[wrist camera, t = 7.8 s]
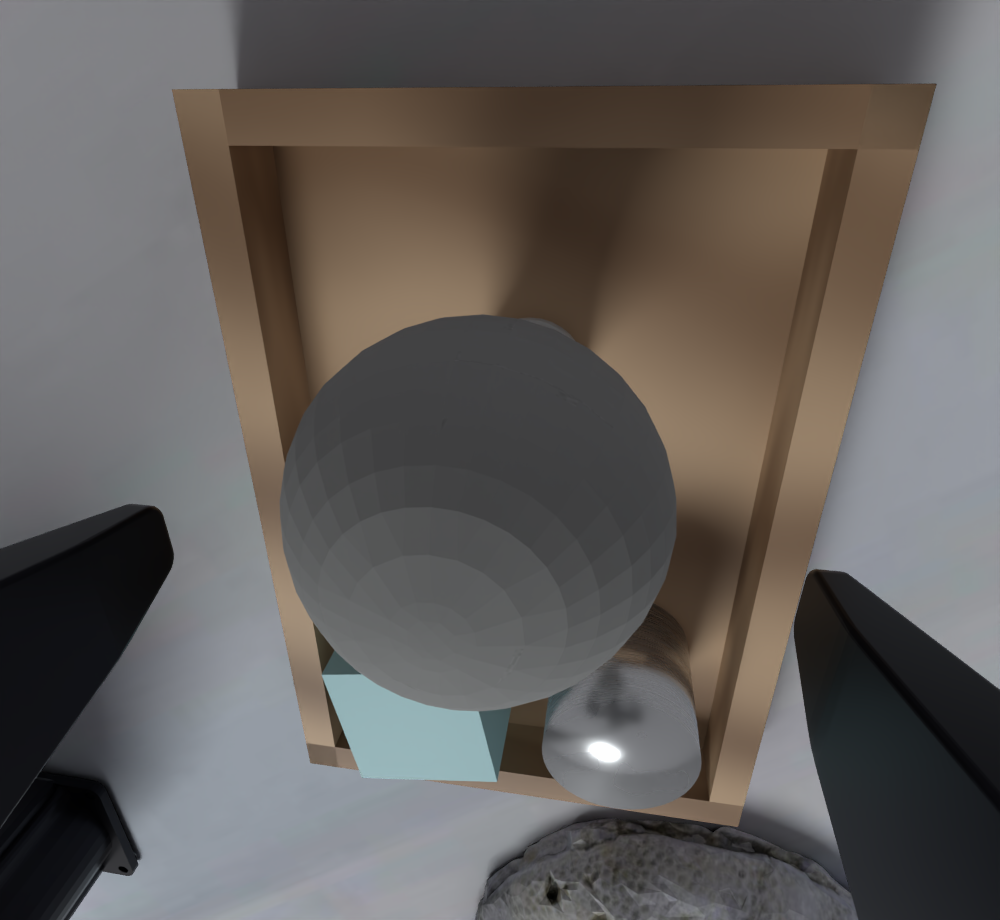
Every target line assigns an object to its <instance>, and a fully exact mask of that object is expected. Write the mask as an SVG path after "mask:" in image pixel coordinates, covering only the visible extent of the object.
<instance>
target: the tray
mask: <svg viewBox="0 0 1000 920" xmlns="http://www.w3.org/2000/svg"><path fill="white" fill-rule="evenodd" d="M935 88H936V84H825V85H695V86H566V87H436V88H307V89H177V90H172V92H173V97H174V102H175V107H176V112H177V116H178V121H179V126H180V131H181V136H182V141H183V146H184V151H185V155H186V160H187V165H188V170H189V175H190V180H191V185H192V189H193V194H194V199H195V204H196V209H197V214H198V219H199V223H200V228H201V233H202V238H203V243H204V248H205V253H206V257H207V262H208V267H209V272H210V277H211V282H212V287H213V292H214V296H215V301H216V306H217V311H218V316H219V321H220V326H221V330H222V335H223V340H224V345H225V350H226V355H227V360H228V364H229V369H230V374H231V379H232V384H233V389H234V394H235V398H236V403H237V408H238V413H239V418H240V423H241V428H242V432H243V437H244V442H245V447H246V452H247V457H248V462H249V467H250V471H251V476H252V481H253V486H254V491H255V496H256V501H257V505H258V510H259V515H260V520H261V525H262V530H263V535H264V539H265V544H266V549H267V554H268V559H269V564H270V569H271V573H272V578H273V583H274V588H275V593H276V598H277V603H278V607H279V612H280V617H281V622H282V627H283V632H284V637H285V642H286V646H287V651H288V656H289V661H290V666H291V671H292V676H293V680H294V685H295V690H296V695H297V700H298V705H299V710H300V714H301V719H302V724H303V729H304V734H305V739H306V744H307V748H308V753H309V758H310V763H314V764H320V765H327V766H334V767H340V768H347V769H354V770H359V769H358V766H357V764H356V761H355V759H354V756H353V753H352V751H351V748H350V746H349V743H348V741H347V738H346V736H345V733H344V731H343V728H342V726H341V723H340V721H339V718H338V715H337V713H336V710H335V708H334V705H333V703H332V700H331V698H330V695H329V693H328V690H327V688H326V685H325V683H324V680H323V677H322V673H323V671H324V669H325V667H326V665H327V663H328V662H329V660H330V658H331V656H332V654H333V652H334V649H333V648H332V646H331V645H330V644H329V642H328V641H327V640H326V639H325V637H324V636H323V635H322V634H321V632H320V631H319V630H318V628H317V627H316V625H315V624H314V623H313V621H312V620H311V618H310V617H309V615H308V613H307V611H306V609H305V608H304V606H303V604H302V602H301V600H300V598H299V597H298V595H297V593H296V590H295V587H294V584H293V581H292V577H291V574H290V571H289V568H288V565H287V561H286V557H285V554H284V550H283V542H282V532H281V521H280V495H281V487H282V480H283V472H284V467H285V462H286V457H287V454H288V451H289V449H290V446H291V443H292V441H293V438H294V436H295V433H296V431H297V428H298V425H299V423H300V421H301V419H302V417H303V414H304V412H305V411H306V409H307V408H308V407H309V405H310V404H311V402H312V401H313V399H314V398H315V397H316V395H317V394H318V392H319V391H320V389H321V388H322V387H323V385H324V384H325V383H326V382H327V381H329V380H330V379H331V378H332V377H333V376H334V375H335V374H336V373H337V372H339V371H340V370H341V369H342V368H343V367H344V366H345V365H346V364H348V363H349V362H350V361H351V360H352V359H353V358H354V357H356V356H357V355H358V354H359V353H360V352H361V351H362V350H364V349H366V348H368V347H370V346H372V345H373V344H375V343H377V342H379V341H381V340H383V339H384V338H386V337H388V336H390V335H392V334H394V333H396V332H398V331H400V330H402V329H404V328H407V327H410V326H414V325H417V324H421V323H424V322H428V321H431V320H435V319H438V318H443V317H455V316H468V315H481V314H484V315H493V316H501V317H509V318H517V319H519V318H530V317H531V318H539V319H544V320H547V321H550V322H553V323H555V324H557V325H558V326H560V327H562V328H563V329H564V330H566V331H567V332H568V333H569V334H570V335H571V336H572V337H573V339H574V340H575V341H576V342H578V343H580V344H582V345H583V346H585V347H587V348H589V349H590V350H592V351H593V352H594V353H595V354H596V355H597V356H599V357H600V358H601V359H602V360H603V361H605V362H606V363H607V364H608V365H609V366H610V367H612V368H613V369H614V370H615V371H616V372H618V373H619V374H620V375H621V377H622V378H623V379H624V380H625V381H626V383H627V384H628V385H629V387H630V388H631V389H632V390H633V392H634V393H635V394H636V395H637V397H638V398H639V399H640V401H641V402H642V403H643V404H644V406H645V407H646V409H647V411H648V413H649V415H650V417H651V419H652V421H653V423H654V425H655V427H656V429H657V432H658V434H659V436H660V438H661V440H662V442H663V444H664V446H665V449H666V452H667V456H668V460H669V465H670V469H671V473H672V477H673V481H674V486H675V493H676V539H675V543H674V547H673V551H672V555H671V559H670V564H669V568H668V571H667V575H666V578H665V581H664V583H663V585H662V587H661V589H660V591H659V593H658V595H657V597H656V599H655V600H654V602H653V603H654V604H656V605H657V606H659V607H661V608H663V609H664V610H666V611H667V612H668V613H670V614H671V615H672V616H673V617H674V618H675V619H676V620H677V621H678V623H679V624H680V625H681V627H682V628H683V630H684V633H685V635H686V638H687V642H688V650H689V659H690V667H691V676H692V684H693V693H694V701H695V710H696V718H697V727H698V735H699V744H700V752H701V770H700V773H699V777H698V778H697V780H696V782H695V783H694V785H693V786H692V787H691V788H690V789H689V790H688V791H687V792H686V793H685V794H684V795H682V796H681V797H679V798H678V799H676V800H674V801H672V802H669V803H667V804H664V805H661V806H657V807H653V808H646V809H635V810H631V809H621V810H628V811H635V812H641V813H648V814H655V815H661V816H668V817H675V818H681V819H688V820H695V821H701V822H708V823H715V824H721V825H728V826H735V827H738V825H739V821H740V818H741V814H742V810H743V806H744V803H745V799H746V795H747V791H748V788H749V784H750V780H751V776H752V773H753V769H754V765H755V761H756V758H757V754H758V750H759V747H760V743H761V739H762V735H763V732H764V728H765V724H766V720H767V717H768V713H769V709H770V705H771V702H772V698H773V694H774V690H775V687H776V683H777V679H778V675H779V672H780V668H781V664H782V660H783V657H784V653H785V649H786V645H787V642H788V638H789V634H790V630H791V627H792V623H793V619H794V615H795V612H796V608H797V604H798V601H799V597H800V593H801V589H802V586H803V582H804V578H805V574H806V571H807V567H808V563H809V559H810V556H811V552H812V548H813V544H814V541H815V537H816V533H817V529H818V526H819V522H820V518H821V514H822V511H823V507H824V503H825V499H826V496H827V492H828V488H829V484H830V481H831V477H832V473H833V469H834V466H835V462H836V458H837V454H838V451H839V447H840V443H841V440H842V436H843V432H844V428H845V425H846V421H847V417H848V413H849V410H850V406H851V402H852V398H853V395H854V391H855V387H856V383H857V380H858V376H859V372H860V368H861V365H862V361H863V357H864V353H865V350H866V346H867V342H868V338H869V335H870V331H871V327H872V323H873V320H874V316H875V312H876V308H877V305H878V301H879V297H880V294H881V290H882V286H883V282H884V279H885V275H886V271H887V267H888V264H889V260H890V256H891V252H892V249H893V245H894V241H895V237H896V234H897V230H898V226H899V222H900V219H901V215H902V211H903V207H904V204H905V200H906V196H907V192H908V189H909V185H910V181H911V177H912V174H913V170H914V166H915V162H916V159H917V155H918V151H919V147H920V144H921V140H922V136H923V133H924V129H925V125H926V121H927V118H928V114H929V110H930V106H931V103H932V99H933V95H934V91H935ZM547 704H548V698H544V699H540V700H537V701H533V702H529V703H526V704H522V705H518V706H515V707H511V712H510V717H509V722H508V728H507V733H506V738H505V743H504V749H503V754H502V759H501V765H500V770H499V775H498V780H497V782H481V781H448V780H427V781H434V782H441V783H447V784H454V785H461V786H467V787H474V788H481V789H488V790H494V791H501V792H508V793H514V794H521V795H528V796H534V797H541V798H548V799H554V800H561V801H568V802H574V803H581V804H588V805H594V806H601V805H597V804H594V803H591V802H589V801H586V800H584V799H582V798H580V797H577V796H576V795H574V794H572V793H571V792H569V791H568V790H566V789H565V788H564V787H562V786H561V785H560V784H559V783H558V782H557V781H556V780H555V779H554V778H553V776H552V775H551V774H550V772H549V771H548V769H547V767H546V765H545V763H544V760H543V755H542V742H543V735H544V727H545V719H546V712H547ZM601 807H605V806H601ZM608 808H610V807H608ZM614 809H616V808H614Z"/></svg>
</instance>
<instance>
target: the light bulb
mask: <svg viewBox="0 0 1000 920" xmlns="http://www.w3.org/2000/svg"><path fill="white" fill-rule="evenodd" d="M280 521H281V532H282V542H283V550H284V554H285V557H286V561H287V565H288V568H289V571H290V574H291V577H292V581H293V584H294V587H295V590H296V593H297V595H298V597H299V598H300V600H301V602H302V604H303V606H304V608H305V609H306V611H307V613H308V615H309V617H310V618H311V620H312V621H313V623H314V624H315V625H316V627H317V628H318V630H319V631H320V632H321V634H322V635H323V636H324V637H325V639H326V640H327V641H328V642H329V644H330V645H331V646H332V648H333V649H334V650H335V651H336V652H337V653H338V654H339V655H340V656H341V657H342V658H343V659H344V660H345V661H346V662H347V663H348V664H350V665H351V666H352V667H353V668H354V669H355V670H356V671H358V672H359V673H361V674H362V675H364V676H365V677H367V678H368V679H370V680H371V681H373V682H374V683H375V684H377V685H379V686H381V687H383V688H385V689H387V690H389V691H391V692H393V693H395V694H397V695H399V696H401V697H404V698H407V699H410V700H413V701H416V702H419V703H422V704H425V705H428V706H434V707H439V708H444V709H449V710H458V711H490V710H499V709H507V708H511V707H515V706H518V705H522V704H526V703H529V702H533V701H537V700H540V699H544V698H548V697H550V696H552V695H554V694H557V693H559V692H561V691H563V690H565V689H567V688H569V687H571V686H573V685H575V684H577V683H578V682H580V681H581V680H582V679H584V678H585V677H587V676H588V675H590V674H591V673H592V672H594V671H595V670H596V669H598V668H599V667H600V666H602V665H603V664H604V663H606V662H607V661H608V660H610V659H611V658H612V657H613V656H614V655H615V654H616V653H617V651H618V650H619V649H620V648H621V647H622V646H623V645H624V644H625V642H626V641H627V640H628V639H629V638H630V637H631V636H632V634H633V633H634V632H635V631H636V630H637V629H638V627H639V626H640V625H641V624H642V623H643V621H644V619H645V617H646V616H647V614H648V612H649V610H650V608H651V606H652V604H653V602H654V600H655V599H656V597H657V595H658V593H659V591H660V589H661V587H662V585H663V583H664V581H665V578H666V575H667V571H668V568H669V564H670V559H671V555H672V551H673V547H674V543H675V539H676V493H675V486H674V481H673V477H672V473H671V469H670V465H669V460H668V456H667V452H666V449H665V446H664V444H663V442H662V440H661V438H660V436H659V434H658V432H657V429H656V427H655V425H654V423H653V421H652V419H651V417H650V415H649V413H648V411H647V409H646V407H645V406H644V404H643V403H642V402H641V401H640V399H639V398H638V397H637V395H636V394H635V393H634V392H633V390H632V389H631V388H630V387H629V385H628V384H627V383H626V381H625V380H624V379H623V378H622V377H621V375H620V374H619V373H618V372H616V371H615V370H614V369H613V368H612V367H610V366H609V365H608V364H607V363H606V362H605V361H603V360H602V359H601V358H600V357H599V356H597V355H596V354H595V353H594V352H593V351H592V350H590V349H589V348H587V347H585V346H583V345H582V344H580V343H578V342H576V341H575V340H574V339H573V337H572V336H571V335H570V334H569V333H568V332H567V331H566V330H564V329H563V328H562V327H560V326H558V325H557V324H555V323H553V322H550V321H547V320H544V319H539V318H531V317H530V318H519V319H517V318H509V317H501V316H493V315H484V314H481V315H468V316H455V317H443V318H438V319H435V320H431V321H428V322H424V323H421V324H417V325H414V326H410V327H407V328H404V329H402V330H400V331H398V332H396V333H394V334H392V335H390V336H388V337H386V338H384V339H383V340H381V341H379V342H377V343H375V344H373V345H372V346H370V347H368V348H366V349H364V350H362V351H361V352H360V353H359V354H358V355H357V356H356V357H354V358H353V359H352V360H351V361H350V362H349V363H348V364H346V365H345V366H344V367H343V368H342V369H341V370H340V371H339V372H337V373H336V374H335V375H334V376H333V377H332V378H331V379H330V380H329V381H327V382H326V383H325V384H324V385H323V387H322V388H321V389H320V391H319V392H318V394H317V395H316V397H315V398H314V399H313V401H312V402H311V404H310V405H309V407H308V408H307V409H306V411H305V412H304V414H303V417H302V419H301V421H300V423H299V425H298V428H297V431H296V433H295V436H294V438H293V441H292V443H291V446H290V449H289V451H288V454H287V457H286V462H285V467H284V472H283V480H282V487H281V495H280Z"/></svg>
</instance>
